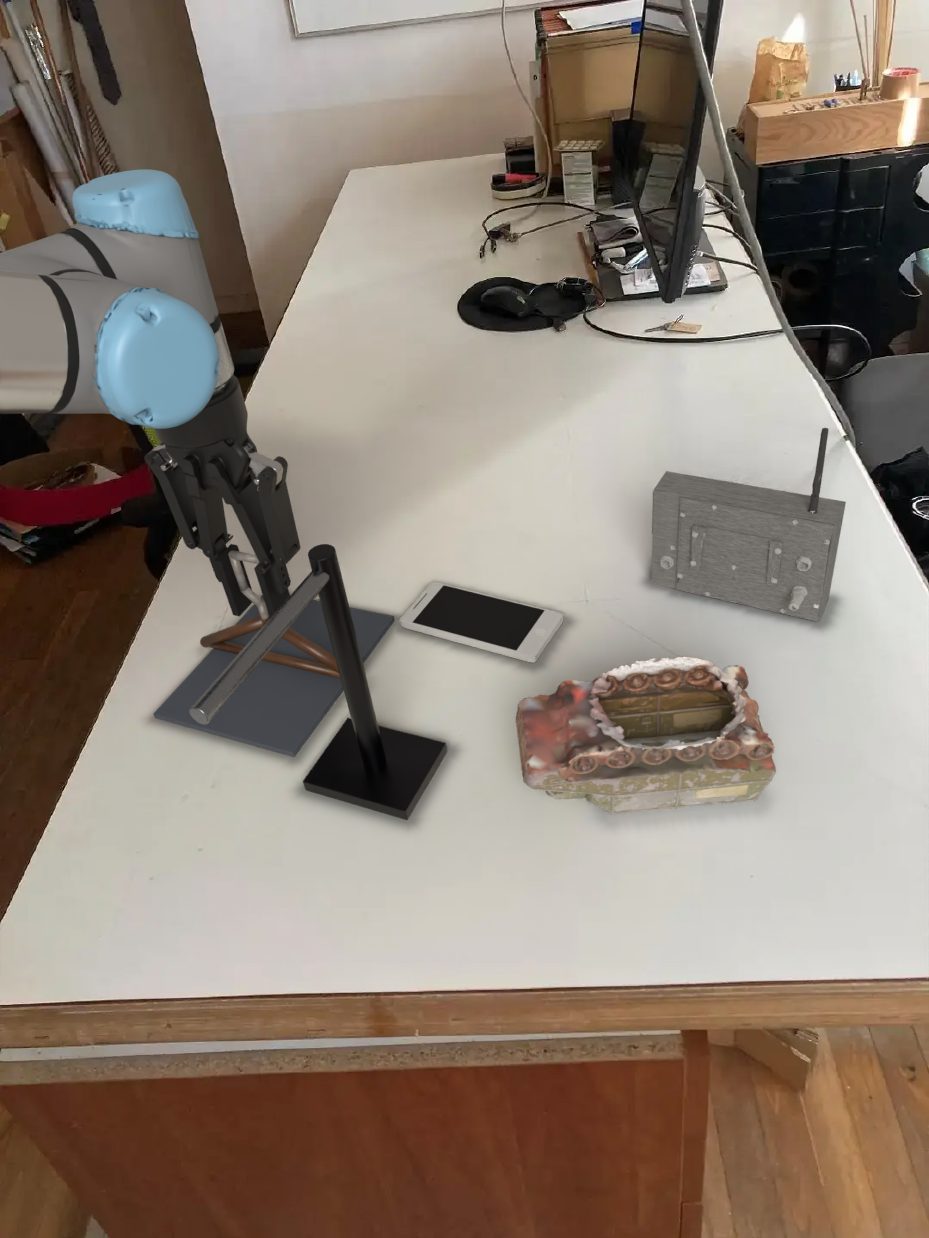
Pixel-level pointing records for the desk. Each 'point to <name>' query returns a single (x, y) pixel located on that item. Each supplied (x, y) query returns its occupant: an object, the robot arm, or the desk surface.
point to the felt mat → (273, 686)
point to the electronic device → (747, 541)
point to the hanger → (220, 637)
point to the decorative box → (648, 738)
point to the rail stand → (361, 750)
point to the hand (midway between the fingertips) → (263, 610)
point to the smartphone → (483, 621)
